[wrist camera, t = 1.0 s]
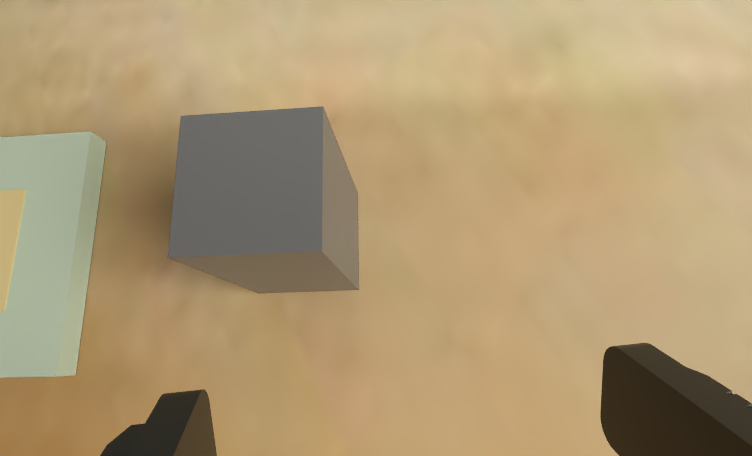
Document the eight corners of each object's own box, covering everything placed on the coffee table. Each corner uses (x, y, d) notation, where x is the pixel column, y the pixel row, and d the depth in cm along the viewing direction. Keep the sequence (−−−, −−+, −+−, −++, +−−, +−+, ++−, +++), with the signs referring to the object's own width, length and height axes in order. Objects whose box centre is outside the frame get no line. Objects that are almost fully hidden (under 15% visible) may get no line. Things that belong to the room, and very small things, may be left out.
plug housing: (262, 197, 28) (180, 116, 19) (357, 192, 28) (323, 106, 18) (258, 293, 27) (167, 257, 17) (358, 289, 27) (321, 251, 17)
